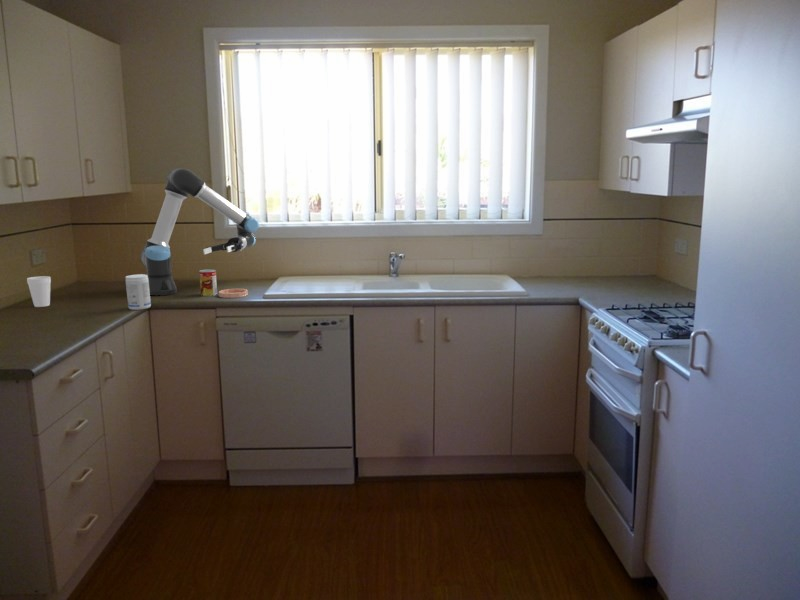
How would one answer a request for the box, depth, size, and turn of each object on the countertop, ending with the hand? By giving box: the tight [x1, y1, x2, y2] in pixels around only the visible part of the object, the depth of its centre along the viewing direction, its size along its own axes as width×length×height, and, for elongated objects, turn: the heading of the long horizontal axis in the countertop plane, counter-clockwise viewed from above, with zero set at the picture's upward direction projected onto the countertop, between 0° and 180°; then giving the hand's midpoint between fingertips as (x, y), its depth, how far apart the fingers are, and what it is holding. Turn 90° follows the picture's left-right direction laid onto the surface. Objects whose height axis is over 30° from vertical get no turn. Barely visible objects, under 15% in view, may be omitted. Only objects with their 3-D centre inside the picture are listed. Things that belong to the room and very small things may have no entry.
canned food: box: [198, 268, 218, 297], centre depth 324 cm, size 8×8×12 cm
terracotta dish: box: [218, 288, 249, 299], centre depth 322 cm, size 14×14×2 cm
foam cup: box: [26, 275, 52, 308], centre depth 301 cm, size 10×9×13 cm
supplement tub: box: [124, 273, 152, 311], centre depth 293 cm, size 10×10×15 cm
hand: (215, 250), depth 331 cm, fingers open, 13 cm apart
